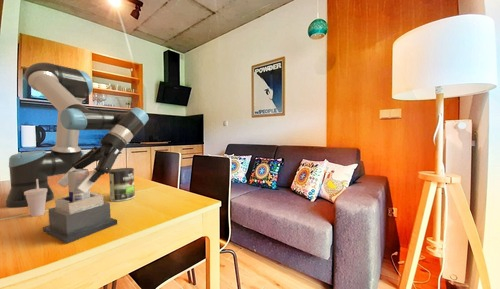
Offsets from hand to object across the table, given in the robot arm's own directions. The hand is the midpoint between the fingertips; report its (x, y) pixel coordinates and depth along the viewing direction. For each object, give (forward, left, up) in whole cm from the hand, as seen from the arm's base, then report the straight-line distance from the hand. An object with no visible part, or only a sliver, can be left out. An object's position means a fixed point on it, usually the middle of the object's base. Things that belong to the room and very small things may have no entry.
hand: (70, 187), depth 65 cm
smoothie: (-29, 0, -14) cm, 32 cm away
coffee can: (-19, +27, -14) cm, 36 cm away
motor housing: (0, +2, -14) cm, 14 cm away
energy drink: (0, +2, -7) cm, 7 cm away
